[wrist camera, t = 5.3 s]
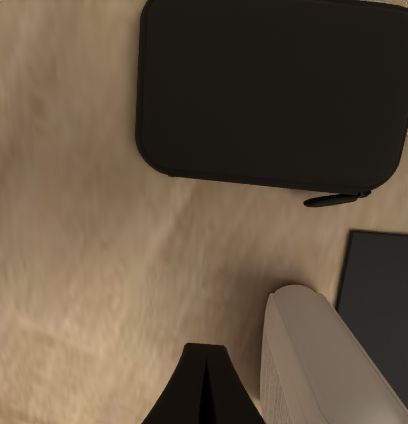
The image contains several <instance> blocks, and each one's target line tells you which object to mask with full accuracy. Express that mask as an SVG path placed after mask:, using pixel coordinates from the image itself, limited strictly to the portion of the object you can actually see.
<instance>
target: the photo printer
mask: <svg viewBox="0 0 408 424" xmlns="http://www.w3.org/2000/svg"><path fill="white" fill-rule="evenodd" d="M260 403H261V410H262V415H263V419H264V421H265V422H266V424H408V410H407V408H406V407H405V406H404V404H403V403H402V402H401V400H400V399H399V397H398V396H397V395H396V393H395V392H394V390H393V389H392V388H391V386H390V385H389V383H388V382H387V381H386V379H385V378H384V377H383V375H382V374H381V372H380V371H379V370H378V368H377V367H376V365H375V364H374V363H373V361H372V360H371V359H370V357H369V356H368V354H367V353H366V352H365V350H364V349H363V347H362V346H361V345H360V343H359V342H358V340H357V339H356V338H355V336H354V335H353V334H352V332H351V331H350V330H349V328H348V327H347V326H346V324H345V323H344V321H343V320H342V319H341V317H340V316H339V315H338V313H337V312H336V310H335V309H334V308H333V307H332V305H331V304H330V302H329V301H328V300H327V299H326V297H325V296H323V295H322V294H317V293H315V292H314V291H313V290H312V289H310V288H308V287H306V286H302V285H287V286H284V287H281V288H279V289H278V290H276V291H275V293H270V295H269V298H268V301H267V305H266V311H265V319H264V327H263V341H262V354H261V373H260Z"/></svg>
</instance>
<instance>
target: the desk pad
mask: <svg viewBox="0 0 408 424" xmlns="http://www.w3.org/2000/svg"><path fill="white" fill-rule="evenodd" d="M336 312H337V313H338V315H339V316H340V317H341V319H342V320H343V321H344V323H345V324H346V326H347V327H348V328H349V330H350V331H351V332H352V334H353V335H354V336H355V338H356V339H357V340H358V342H359V343H360V345H361V346H362V347H363V349H364V350H365V352H366V353H367V354H368V356H369V357H370V359H371V360H372V361H373V363H374V364H375V365H376V367H377V368H378V370H379V371H380V372H381V374H382V375H383V377H384V378H385V379H386V381H387V382H388V383H389V385H390V386H391V388H392V389H393V390H394V392H395V393H396V395H397V396H398V397H399V399H400V400H401V402H402V403H403V404H404V406H405V407H406V408H407V410H408V235H400V234H387V233H374V232H361V231H351V232H350V238H349V243H348V248H347V253H346V258H345V264H344V269H343V274H342V279H341V284H340V289H339V295H338V300H337V305H336Z"/></svg>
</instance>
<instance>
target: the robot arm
mask: <svg viewBox="0 0 408 424" xmlns="http://www.w3.org/2000/svg"><path fill="white" fill-rule="evenodd" d="M141 424H266V422H265V421H264V419H263V418H262V416H261V415H260V413H259V412H258V410H257V408H256V407H255V405H254V404H253V402H252V400H251V399H250V397H249V395H248V393H247V391H246V390H245V388H244V386H243V384H242V382H241V380H240V379H239V377H238V375H237V372H236V370H235V368H234V366H233V364H232V362H231V359H230V357H229V354H228V352H227V349H226V348H225V346H224V345H212V344H199V343H187V344H186V345H184V349H183V352H182V355H181V358H180V360H179V362H178V365H177V367H176V369H175V371H174V373H173V375H172V376H171V378H170V380H169V382H168V384H167V386H166V387H165V389H164V391H163V392H162V394H161V395H160V397H159V399H158V400H157V402H156V403H155V405H154V406H153V408H152V409H151V411H150V412H149V414H148V415H147V417H146V418H145V419H144V421H143V422H142V423H141Z"/></svg>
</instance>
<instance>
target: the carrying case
mask: <svg viewBox="0 0 408 424" xmlns="http://www.w3.org/2000/svg"><path fill="white" fill-rule="evenodd" d="M407 129H408V8H406V7H402V6H399V5H393V4H386V3H379V2H369V1H359V0H148V1H147V2H146V4H145V6H144V8H143V11H142V13H141V18H140V33H139V56H138V78H137V101H136V123H135V140H136V145H137V148H138V150H139V152H140V154H141V156H142V157H143V159H144V160H145V161H146V163H147V164H148V165H149V166H151V167H152V168H153V169H155V170H156V171H158V172H160V173H163V174H166V175H168V176H170V177H184V178H193V179H203V180H212V181H222V182H232V183H241V184H251V185H261V186H270V187H280V188H290V189H299V190H309V191H318V192H328V193H338V194H337V195H329V196H322V197H316V198H311V199H308V200H306V201H304V203H303V204H304V205H305V206H306V207H323V206H331V205H337V204H343V203H349V202H354V201H356V200H357V199H358V198H364V197H367V196H368V195H369V194H371V190H374V189H376V188H378V187H379V186H381V185H382V184H384V183H385V182H386V181H387V180H388V179H389V178H390V177H391V176H392V175H393V173H394V172H395V171H396V169H397V167H398V165H399V162H400V158H401V154H402V150H403V146H404V141H405V137H406V133H407Z"/></svg>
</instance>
